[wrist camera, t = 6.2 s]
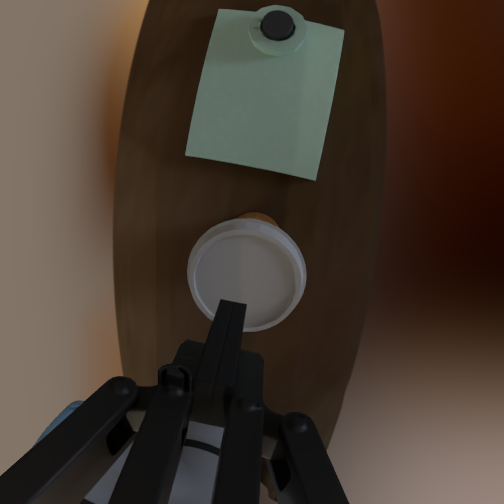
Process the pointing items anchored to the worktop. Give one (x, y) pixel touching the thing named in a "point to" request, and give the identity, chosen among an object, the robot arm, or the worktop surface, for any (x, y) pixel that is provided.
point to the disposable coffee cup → (247, 270)
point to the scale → (265, 93)
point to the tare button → (277, 24)
